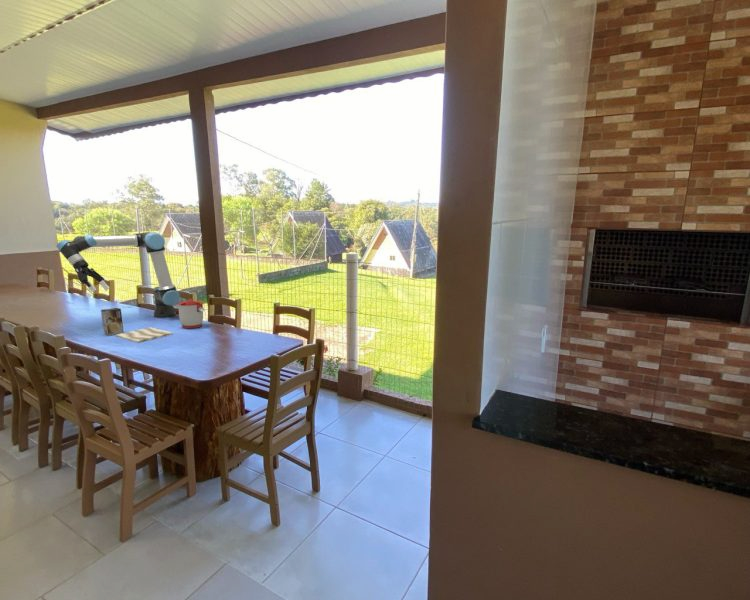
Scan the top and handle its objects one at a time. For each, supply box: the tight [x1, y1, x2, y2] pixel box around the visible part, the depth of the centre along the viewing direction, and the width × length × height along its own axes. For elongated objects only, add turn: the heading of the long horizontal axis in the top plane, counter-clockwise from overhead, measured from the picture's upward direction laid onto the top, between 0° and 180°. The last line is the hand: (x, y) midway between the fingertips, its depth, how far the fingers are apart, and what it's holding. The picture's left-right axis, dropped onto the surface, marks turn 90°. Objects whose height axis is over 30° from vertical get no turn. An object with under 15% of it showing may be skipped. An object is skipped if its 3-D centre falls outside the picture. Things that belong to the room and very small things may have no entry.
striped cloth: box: [115, 327, 174, 343], centre depth 239 cm, size 22×24×1 cm
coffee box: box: [100, 307, 125, 336], centre depth 240 cm, size 9×6×16 cm
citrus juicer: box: [177, 298, 205, 329], centre depth 260 cm, size 16×17×20 cm
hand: (101, 290), depth 239 cm, fingers open, 13 cm apart
